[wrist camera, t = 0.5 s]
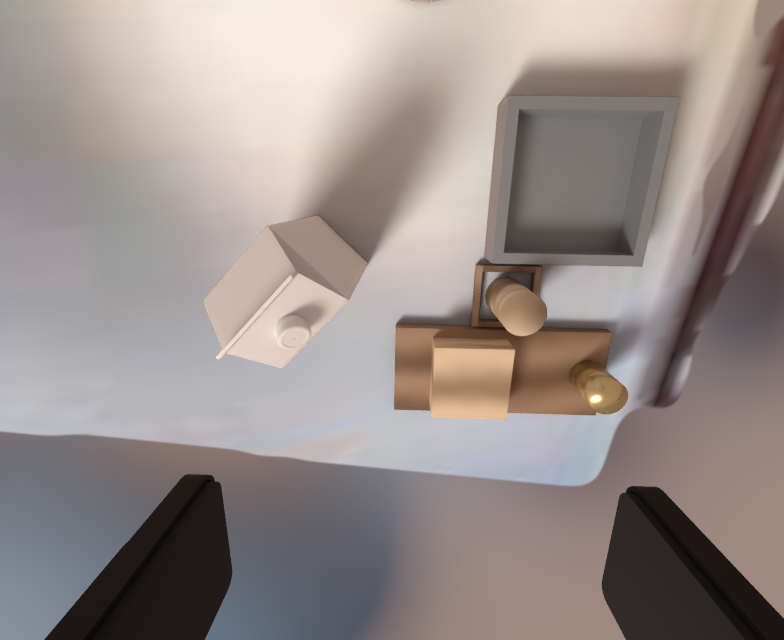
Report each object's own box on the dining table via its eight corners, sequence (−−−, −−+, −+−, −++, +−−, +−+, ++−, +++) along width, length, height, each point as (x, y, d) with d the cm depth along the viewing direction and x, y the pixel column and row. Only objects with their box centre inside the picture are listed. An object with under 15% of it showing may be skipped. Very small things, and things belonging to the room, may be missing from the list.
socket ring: (475, 264, 39) (477, 265, 38) (539, 265, 39) (542, 266, 38) (470, 324, 41) (472, 326, 41) (531, 325, 41) (533, 328, 40)
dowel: (487, 276, 40) (504, 292, 33) (525, 277, 40) (550, 293, 33) (483, 313, 41) (499, 335, 34) (520, 313, 41) (543, 336, 34)
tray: (498, 105, 35) (508, 95, 31) (652, 107, 34) (679, 97, 31) (484, 257, 39) (491, 263, 36) (620, 260, 39) (642, 266, 35)
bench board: (396, 324, 42) (395, 327, 40) (606, 329, 41) (612, 333, 40) (394, 403, 45) (394, 409, 43) (590, 409, 44) (595, 415, 43)
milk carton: (274, 264, 40) (167, 319, 22) (317, 214, 38) (240, 229, 20) (324, 309, 41) (263, 396, 23) (368, 263, 40) (340, 318, 21)
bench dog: (571, 359, 41) (593, 381, 36) (605, 360, 41) (631, 382, 36) (566, 389, 42) (587, 413, 37) (598, 390, 42) (623, 414, 37)
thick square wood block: (432, 337, 41) (434, 347, 38) (507, 339, 40) (515, 349, 38) (429, 402, 43) (431, 417, 40) (499, 404, 43) (506, 419, 40)
